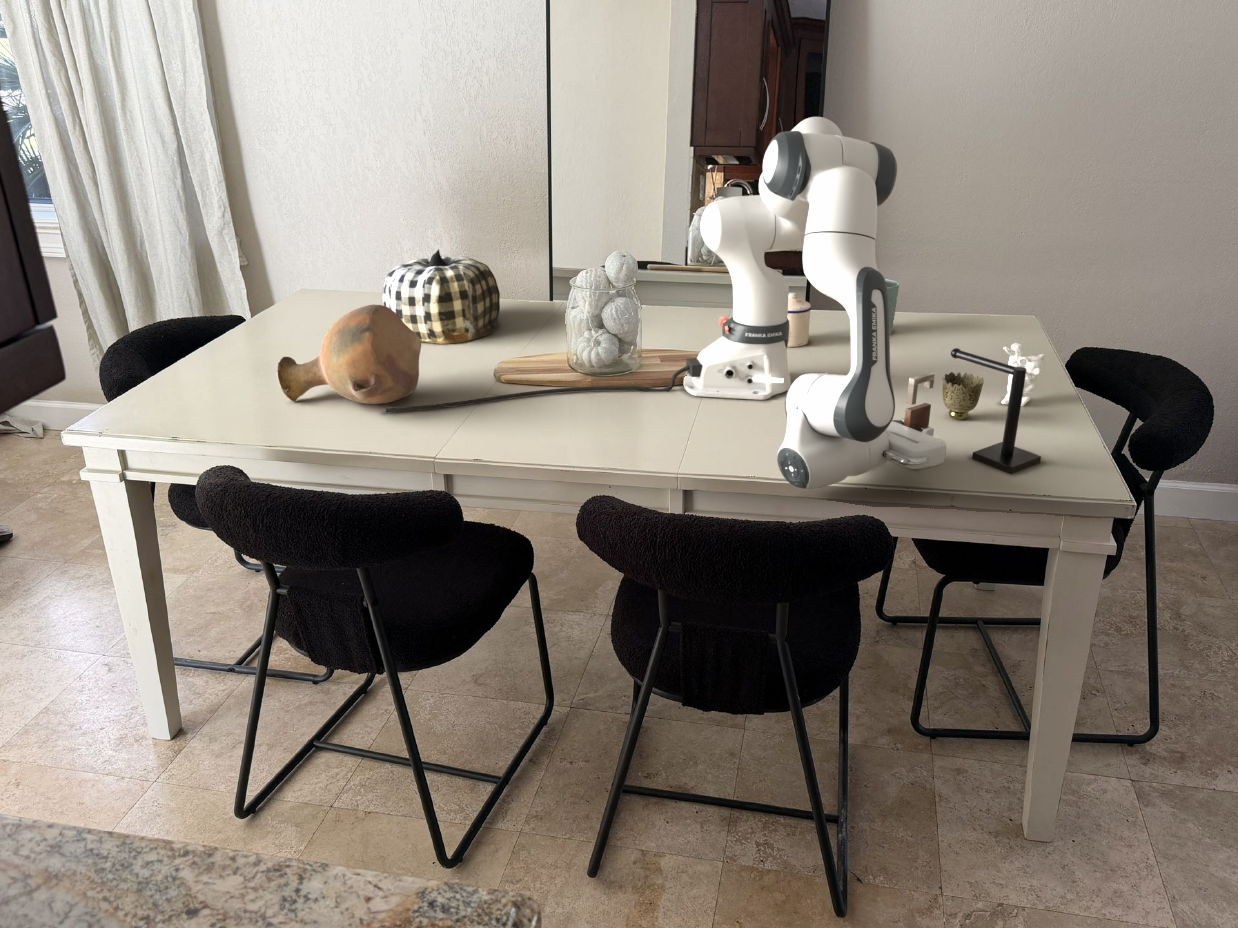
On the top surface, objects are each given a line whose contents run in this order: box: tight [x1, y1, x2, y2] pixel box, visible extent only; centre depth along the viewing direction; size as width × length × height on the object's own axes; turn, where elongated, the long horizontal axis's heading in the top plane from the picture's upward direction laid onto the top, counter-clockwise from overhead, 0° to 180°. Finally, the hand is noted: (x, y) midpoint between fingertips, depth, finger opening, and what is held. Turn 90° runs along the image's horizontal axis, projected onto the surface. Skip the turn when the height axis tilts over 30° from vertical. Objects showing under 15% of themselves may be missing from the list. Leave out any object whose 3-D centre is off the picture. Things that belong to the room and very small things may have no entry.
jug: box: [276, 304, 422, 405], centre depth 203 cm, size 20×20×30 cm
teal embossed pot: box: [884, 278, 900, 335], centre depth 244 cm, size 10×10×12 cm
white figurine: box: [1000, 342, 1046, 407], centre depth 198 cm, size 8×7×12 cm
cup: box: [941, 371, 985, 421], centre depth 192 cm, size 8×7×8 cm
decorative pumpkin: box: [381, 248, 501, 345], centre depth 250 cm, size 30×29×20 cm
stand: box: [950, 347, 1042, 475], centre depth 175 cm, size 8×18×17 cm, turn 34°
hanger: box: [904, 371, 935, 431], centre depth 172 cm, size 5×5×16 cm
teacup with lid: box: [787, 292, 812, 348], centre depth 237 cm, size 12×9×12 cm
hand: (919, 427), depth 173 cm, fingers open, 3 cm apart
